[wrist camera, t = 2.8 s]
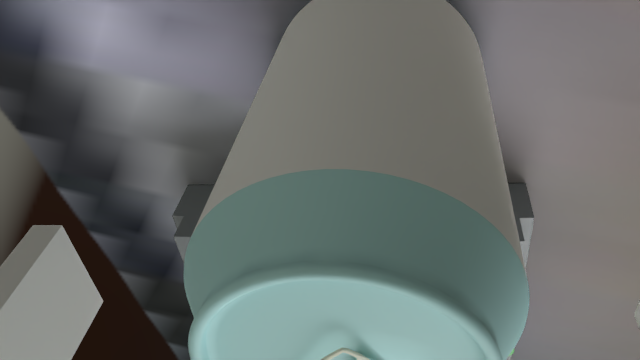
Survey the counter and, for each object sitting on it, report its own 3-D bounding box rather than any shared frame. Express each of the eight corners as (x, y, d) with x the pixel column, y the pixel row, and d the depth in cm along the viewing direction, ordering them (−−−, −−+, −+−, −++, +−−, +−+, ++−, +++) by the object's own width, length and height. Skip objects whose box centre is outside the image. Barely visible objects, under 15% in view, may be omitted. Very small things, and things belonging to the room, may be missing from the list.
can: (489, -37, 16) (583, 250, 7) (474, 153, 21) (520, 486, 11) (264, -22, 18) (93, 239, 8) (293, 154, 22) (203, 455, 13)
